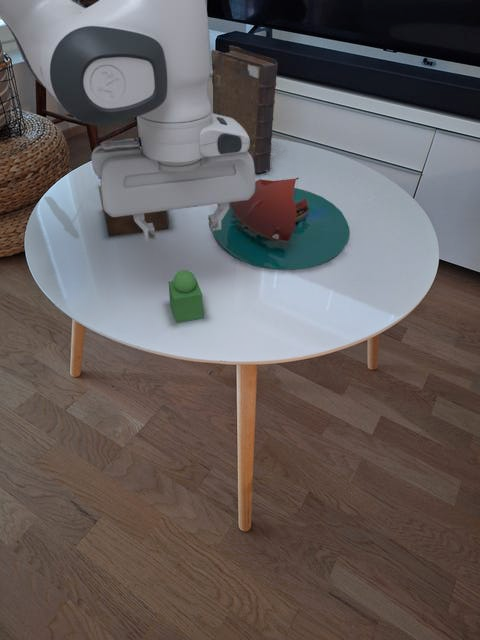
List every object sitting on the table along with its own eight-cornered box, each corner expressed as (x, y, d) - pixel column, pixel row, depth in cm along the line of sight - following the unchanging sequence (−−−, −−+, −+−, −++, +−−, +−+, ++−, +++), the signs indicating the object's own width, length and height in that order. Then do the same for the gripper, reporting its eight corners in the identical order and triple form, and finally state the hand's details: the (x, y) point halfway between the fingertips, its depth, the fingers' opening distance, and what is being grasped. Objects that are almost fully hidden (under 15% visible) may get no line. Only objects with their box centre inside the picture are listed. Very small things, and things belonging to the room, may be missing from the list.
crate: (107, 237, 91) (102, 210, 87) (103, 212, 99) (98, 185, 95) (169, 229, 94) (167, 202, 90) (160, 205, 102) (158, 179, 98)
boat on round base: (187, 216, 98) (184, 168, 90) (293, 180, 109) (298, 134, 101) (261, 295, 83) (265, 246, 74) (376, 244, 93) (391, 196, 85)
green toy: (175, 323, 74) (172, 283, 68) (170, 305, 77) (166, 266, 71) (203, 318, 75) (201, 278, 69) (196, 300, 78) (195, 261, 72)
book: (273, 171, 116) (282, 60, 99) (251, 178, 113) (257, 64, 96) (232, 149, 125) (233, 44, 109) (210, 155, 122) (209, 48, 105)
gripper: (89, 153, 52) (110, 256, 61) (262, 136, 56) (256, 234, 66) (86, 133, 56) (106, 231, 65) (246, 119, 61) (243, 212, 70)
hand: (182, 232), depth 66 cm, fingers open, 8 cm apart
